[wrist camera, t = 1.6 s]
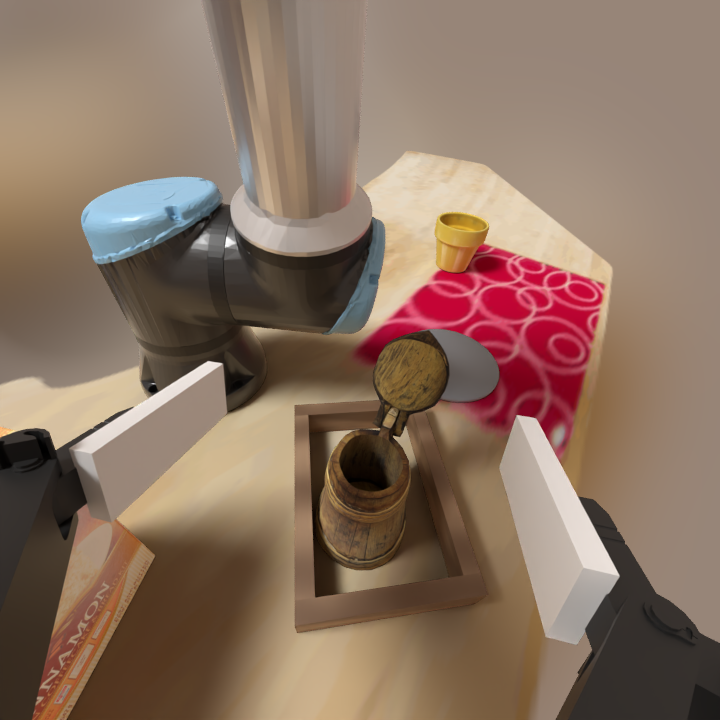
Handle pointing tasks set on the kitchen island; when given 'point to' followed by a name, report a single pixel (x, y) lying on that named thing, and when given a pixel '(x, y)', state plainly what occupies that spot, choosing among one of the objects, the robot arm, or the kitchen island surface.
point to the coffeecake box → (88, 607)
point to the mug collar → (447, 519)
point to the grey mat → (467, 367)
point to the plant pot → (458, 239)
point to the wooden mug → (379, 458)
